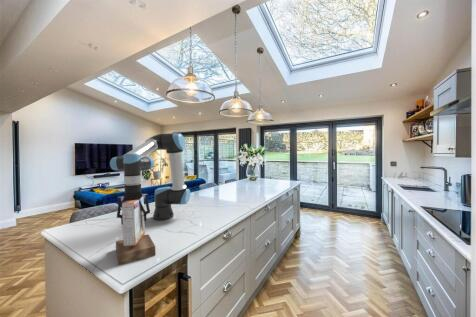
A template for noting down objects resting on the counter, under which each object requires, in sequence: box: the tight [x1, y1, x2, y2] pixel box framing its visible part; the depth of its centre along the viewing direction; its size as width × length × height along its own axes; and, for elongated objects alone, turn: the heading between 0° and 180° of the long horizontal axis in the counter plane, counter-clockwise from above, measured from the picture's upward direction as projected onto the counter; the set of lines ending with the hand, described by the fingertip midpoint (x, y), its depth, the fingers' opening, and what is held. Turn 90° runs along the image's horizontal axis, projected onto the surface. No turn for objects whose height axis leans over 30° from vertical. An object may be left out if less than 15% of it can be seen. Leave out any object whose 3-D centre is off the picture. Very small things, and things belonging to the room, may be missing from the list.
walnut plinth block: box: [115, 233, 157, 266], centre depth 106 cm, size 16×18×5 cm
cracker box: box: [121, 196, 146, 246], centre depth 105 cm, size 14×6×21 cm, turn 7°
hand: (134, 228), depth 105 cm, fingers closed on cracker box, 8 cm apart
